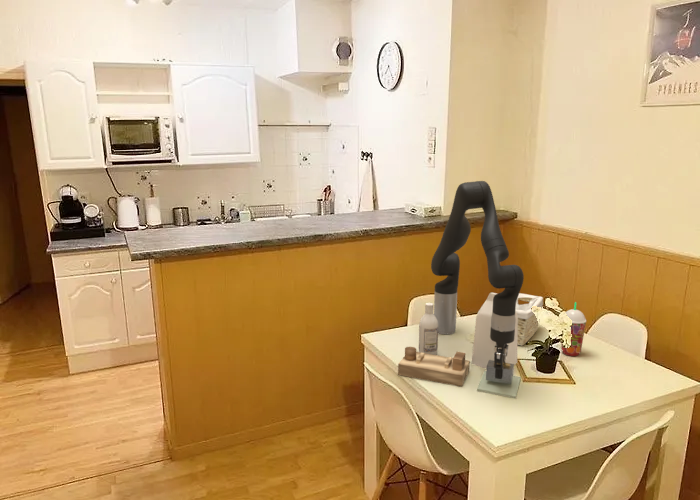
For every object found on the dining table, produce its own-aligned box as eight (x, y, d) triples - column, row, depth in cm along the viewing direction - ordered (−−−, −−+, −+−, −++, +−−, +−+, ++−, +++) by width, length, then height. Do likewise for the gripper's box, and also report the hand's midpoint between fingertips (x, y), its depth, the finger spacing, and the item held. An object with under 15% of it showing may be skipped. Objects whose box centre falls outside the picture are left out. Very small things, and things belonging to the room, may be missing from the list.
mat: (484, 372, 179) (484, 370, 179) (520, 379, 175) (520, 376, 174) (476, 391, 167) (477, 388, 167) (515, 398, 162) (515, 396, 162)
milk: (471, 363, 186) (474, 294, 181) (486, 353, 195) (490, 287, 189) (502, 373, 178) (506, 302, 173) (517, 363, 187) (522, 294, 181)
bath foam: (441, 355, 193) (443, 304, 189) (427, 360, 189) (429, 308, 185) (428, 349, 199) (429, 299, 194) (414, 353, 195) (416, 303, 190)
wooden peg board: (408, 360, 189) (409, 340, 187) (469, 371, 180) (470, 350, 179) (398, 374, 178) (398, 353, 177) (462, 386, 170) (463, 364, 168)
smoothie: (558, 355, 192) (563, 304, 188) (558, 347, 200) (563, 297, 195) (583, 359, 189) (588, 307, 185) (582, 350, 197) (587, 300, 192)
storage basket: (504, 322, 227) (506, 289, 223) (542, 329, 218) (545, 296, 215) (485, 340, 207) (487, 305, 204) (526, 349, 199) (528, 312, 195)
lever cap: (488, 373, 174) (489, 358, 173) (513, 377, 171) (514, 362, 170) (485, 380, 170) (486, 364, 168) (511, 384, 166) (512, 368, 165)
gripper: (494, 317, 174) (491, 363, 178) (487, 332, 161) (484, 382, 165) (517, 320, 171) (514, 367, 175) (512, 335, 158) (508, 386, 162)
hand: (499, 374), depth 170 cm, fingers closed on lever cap, 5 cm apart
